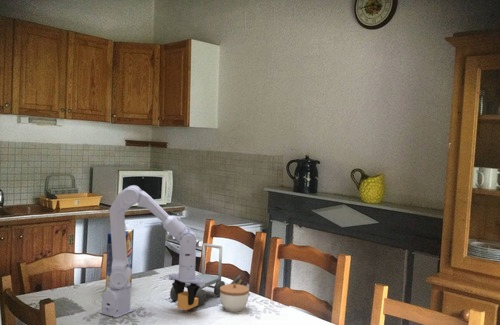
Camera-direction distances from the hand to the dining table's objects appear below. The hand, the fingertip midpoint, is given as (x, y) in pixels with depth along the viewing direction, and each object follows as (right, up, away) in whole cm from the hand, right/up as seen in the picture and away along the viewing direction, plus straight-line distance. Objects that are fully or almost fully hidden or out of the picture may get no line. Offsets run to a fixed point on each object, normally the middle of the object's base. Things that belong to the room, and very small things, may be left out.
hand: (185, 303), depth 167 cm
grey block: (+18, -4, +23) cm, 29 cm away
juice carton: (-29, -1, +19) cm, 35 cm away
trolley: (+3, -3, +17) cm, 18 cm away
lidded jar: (+17, -4, +6) cm, 18 cm away
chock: (+1, -2, +1) cm, 2 cm away
